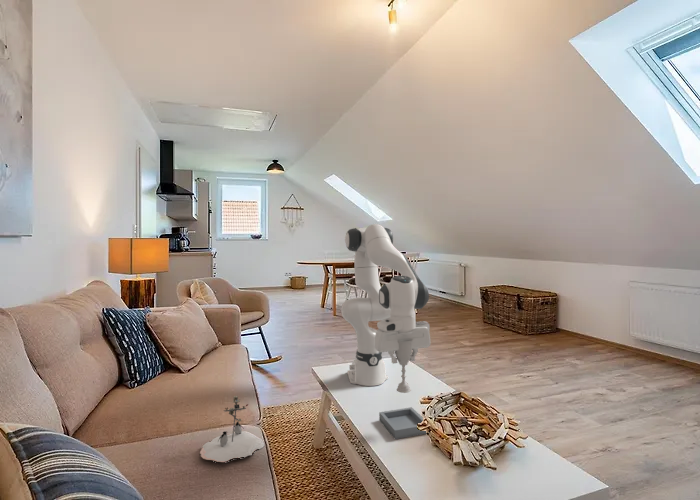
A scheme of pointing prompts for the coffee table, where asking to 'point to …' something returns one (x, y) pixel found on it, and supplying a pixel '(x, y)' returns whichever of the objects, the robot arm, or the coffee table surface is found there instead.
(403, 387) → the chalice
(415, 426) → the tray
